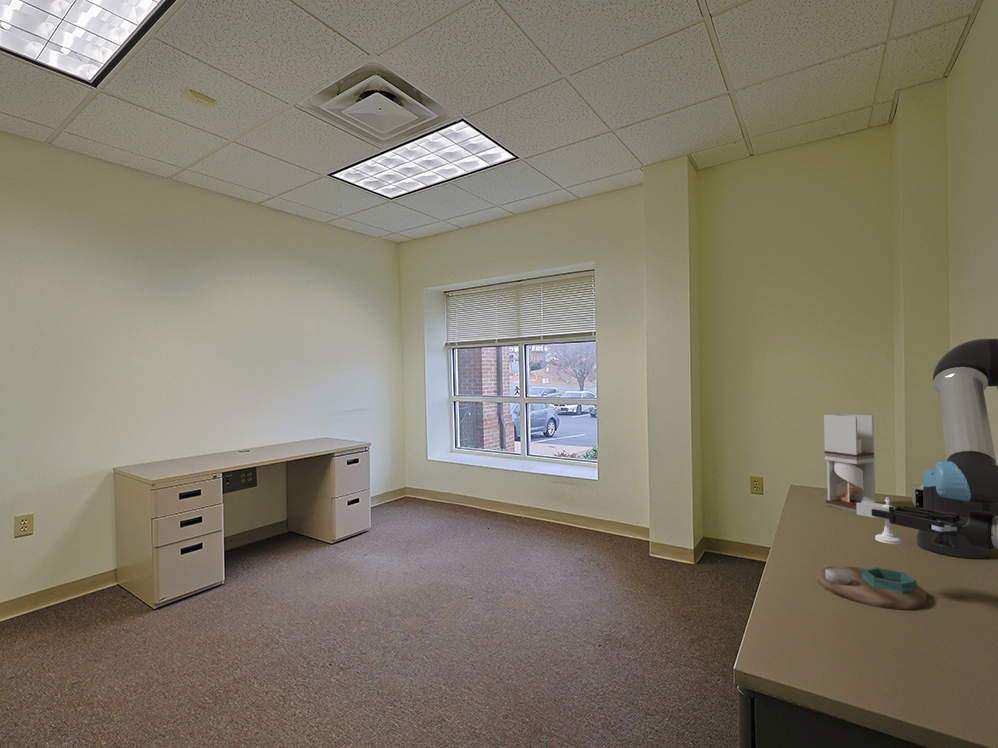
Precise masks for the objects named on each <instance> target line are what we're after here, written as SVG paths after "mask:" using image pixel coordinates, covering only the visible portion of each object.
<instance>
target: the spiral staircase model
mask: <svg viewBox="0 0 998 748" xmlns="http://www.w3.org/2000/svg"><path fill="white" fill-rule="evenodd" d="M874 421H875V420H874V415H868V414H855V413H852V414H851V413H848V414H847V413H831V414H824V415H823V425H824V426H823V429H824V430H823V432H824V433H823V436H824V460H825V461H826V483H827V485H826V487H827V499H826V500H825V506H826V505H827V506H826V507H829V506H831V507H830V508H833V507H835V508H834V509H838V508H839V509H838V510H842V509H843V510H842V511H846V510H848V511H847V512H851V511H852V512H851V513H855V512H856V513H855V514H857V511H856V503H861V501H866V502H872V503H876V478H875V475H876V473H875V472H876V470H875V466H876V465H875V430H874V429H875V428H874V427H875V425H874Z"/></svg>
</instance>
